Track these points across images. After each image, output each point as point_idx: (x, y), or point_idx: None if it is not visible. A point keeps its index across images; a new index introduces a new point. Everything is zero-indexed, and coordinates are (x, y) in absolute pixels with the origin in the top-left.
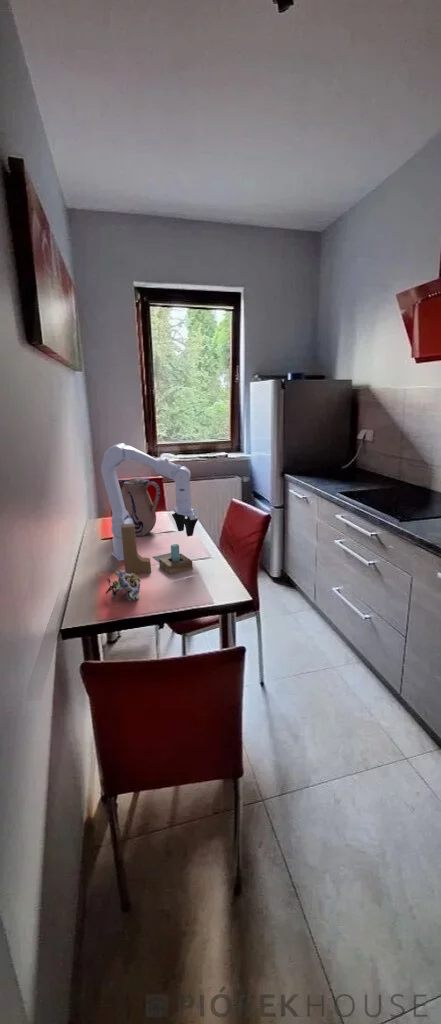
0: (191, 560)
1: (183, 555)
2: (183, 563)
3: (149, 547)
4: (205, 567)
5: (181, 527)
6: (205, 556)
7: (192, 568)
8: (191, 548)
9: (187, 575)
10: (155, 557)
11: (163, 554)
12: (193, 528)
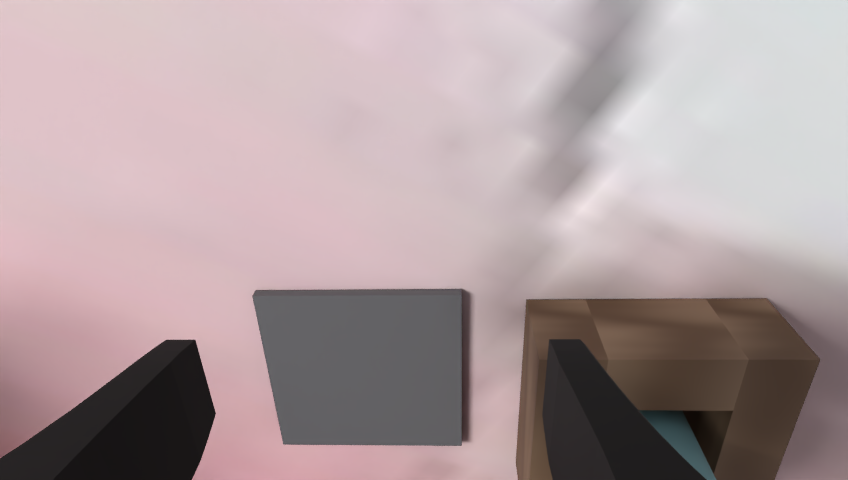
0: (802, 360)
1: (612, 364)
2: (788, 436)
3: (3, 371)
4: (824, 175)
5: (171, 421)
6: (552, 10)
7: (774, 309)
8: (190, 29)
9: (822, 375)
10: (307, 430)
11: (268, 361)
12: (657, 451)
